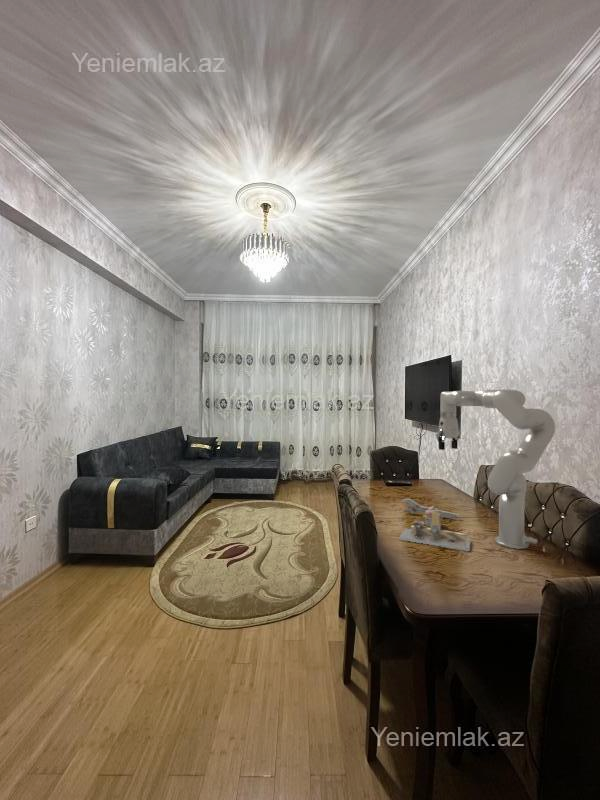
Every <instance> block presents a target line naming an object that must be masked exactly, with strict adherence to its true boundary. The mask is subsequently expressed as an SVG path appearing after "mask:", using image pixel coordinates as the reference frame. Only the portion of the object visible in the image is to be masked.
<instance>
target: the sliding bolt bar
mask: <svg viewBox="0 0 600 800" xmlns="http://www.w3.org/2000/svg"><path fill="white" fill-rule="evenodd" d="M410 529H411V532H414V533H416V536H419V533H420V534H426V535H432V536H433V532H432V530H431V529H430V527H427V526H426V527H425V521H421V520H414V522H413V524H412V525H411V526H410ZM436 536H439V537H445V538H451V539H457V540H464V541H466V538H467V533H465V532H458V531H451V530H445V529H440V531H437V532H436Z"/></svg>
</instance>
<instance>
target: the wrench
mask: <svg viewBox="0 0 600 800" xmlns="http://www.w3.org/2000/svg"><path fill="white" fill-rule="evenodd" d="M401 503H402V504H406V503H407V504H408V506H409V507H404V508H403V511H405V512H407V513H410V514H411V515H412V514H413V515H414V514H415V515H416V514H417V513H425V512H426V510H428V509H429V508H430V507H429V506H428V507H427V506H422V505H421V504H419V503H417V502H416V501H415V500H413V499H411V498H404V499H403V500H402V502H401ZM438 510H439V512H440V513H441V516H442V517H443V518H445V519H449V520H453V521H461V519H462V516H461V515H460V514H459V513H456V512H450V511H445V510H441V509H438ZM456 516H459V518H456Z"/></svg>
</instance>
